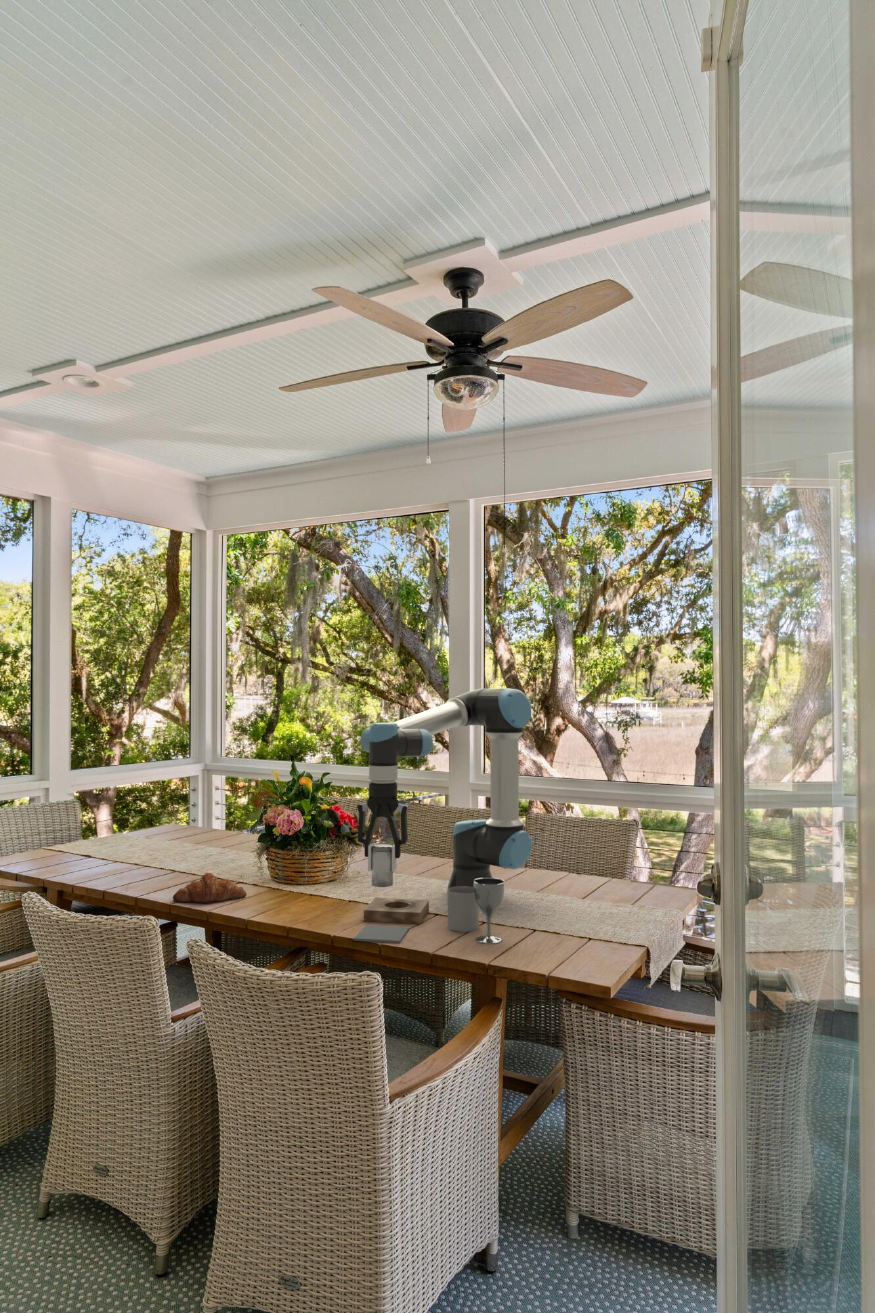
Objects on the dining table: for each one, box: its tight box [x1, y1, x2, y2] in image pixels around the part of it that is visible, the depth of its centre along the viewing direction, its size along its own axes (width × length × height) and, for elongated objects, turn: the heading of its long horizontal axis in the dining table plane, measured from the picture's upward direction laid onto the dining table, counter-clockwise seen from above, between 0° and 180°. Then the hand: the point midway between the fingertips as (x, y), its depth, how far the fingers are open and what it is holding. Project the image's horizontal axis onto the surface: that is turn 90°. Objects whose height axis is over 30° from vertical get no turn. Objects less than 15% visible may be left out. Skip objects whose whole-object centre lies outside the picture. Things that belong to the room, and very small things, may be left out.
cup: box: [447, 886, 480, 933], centre depth 225 cm, size 8×8×10 cm
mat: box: [353, 924, 410, 944], centre depth 217 cm, size 12×12×1 cm
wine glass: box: [474, 877, 505, 945], centre depth 214 cm, size 8×8×15 cm
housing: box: [363, 897, 430, 925], centre depth 236 cm, size 16×14×3 cm
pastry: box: [172, 872, 247, 905], centre depth 254 cm, size 17×15×8 cm
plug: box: [371, 843, 394, 888], centre depth 218 cm, size 6×6×10 cm
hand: (382, 870), depth 218 cm, fingers closed on plug, 6 cm apart
